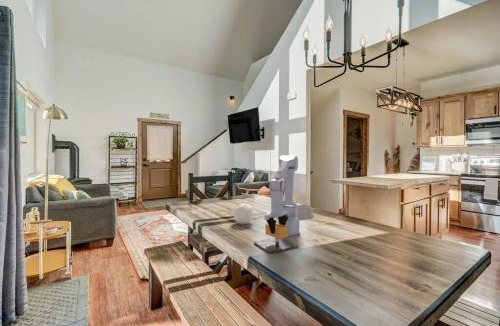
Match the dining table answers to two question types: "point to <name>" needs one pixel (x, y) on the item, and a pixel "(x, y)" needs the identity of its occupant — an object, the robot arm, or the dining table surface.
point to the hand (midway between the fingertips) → (277, 232)
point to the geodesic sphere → (243, 213)
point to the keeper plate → (275, 245)
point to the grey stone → (304, 212)
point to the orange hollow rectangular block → (277, 231)
